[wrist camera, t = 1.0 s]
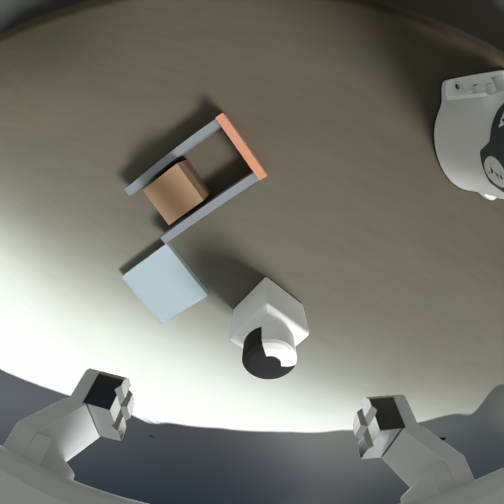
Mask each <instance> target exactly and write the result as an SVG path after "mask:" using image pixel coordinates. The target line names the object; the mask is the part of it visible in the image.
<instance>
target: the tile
mask: <svg viewBox="0 0 504 504" xmlns="http://www.w3.org/2000/svg"><path fill="white" fill-rule="evenodd" d="M122 278H123V279H124V281H125V282H126V283H127V284H128V285H129V287H130V288H131V289H132V290H133V291H134V293H135V294H136V295H137V296H138V297H139V299H140V300H141V301H142V302H143V303H144V304H145V306H146V307H147V308H148V309H149V310H150V311H151V312H152V314H153V315H154V316H155V317H156V318H157V319H158V320H159V321H160V322H161V323H162V322H164V321H166V320H167V319H169V318H171V317H173V316H174V315H176V314H178V313H179V312H181V311H183V310H185V309H186V308H188V307H190V306H191V305H193V304H195V303H196V302H198V301H200V300H201V299H203V298H205V297H207V296H208V294H209V291H208V290H207V289H206V288H205V286H204V285H203V284H202V283H201V281H200V280H199V279H198V278H197V276H196V275H195V274H194V273H193V271H192V270H191V269H190V268H189V266H188V265H187V264H186V263H185V261H184V260H183V259H182V258H181V256H180V255H179V254H178V252H177V251H176V250H175V249H174V247H173V246H172V245H171V243H170V242H167V243H166V244H164V245H162V246H161V247H160V248H158V249H157V250H156V251H154V252H153V253H151V254H150V255H149V256H147V257H146V258H145V259H143V260H142V261H141V262H139V263H138V264H137V265H135V266H134V267H133V268H131V269H130V270H129V271H127V272H126V273H125V274H124V275H123V276H122Z"/></svg>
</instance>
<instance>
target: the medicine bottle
mask: <svg viewBox="0 0 504 504" xmlns="http://www.w3.org/2000/svg"><path fill="white" fill-rule="evenodd" d="M308 335H309V331H308V327H307V322H306V317H305V312H304V308H303V305H302V304H301V303H300V302H299V301H297V300H296V299H295V298H293V297H292V296H291V295H289V294H288V293H287V292H286V291H284V290H283V289H282V288H280V287H279V286H278V285H276V284H275V283H274V282H273V281H271V280H270V279H269V278H267V277H265V278H264V279H263V280H262V281H261V282H260V283H259V284H258V285H257V286H256V287H255V288H254V289H253V290H252V291H251V292H250V293H249V294H248V295H247V296H246V297H245V298H244V299H243V300H242V301H241V302H240V303H239V304H238V305H237V306H236V307H235V308H234V310H233V316H232V322H231V329H230V336H229V339H230V340H231V341H232V342H234V343H235V344H237V345H238V346H240V347H241V348H243V356H242V362H243V365H244V367H245V369H246V370H247V371H248V372H249V373H251V374H252V375H254V376H256V377H259V378H262V379H276V378H279V377H282V376H284V375H286V374H287V373H289V372H290V371H291V370H292V369H293V368H294V366H295V364H296V361H297V355H296V347H295V346H296V345H298V344H299V343H300V342H301V341H302V340H303V339H305V338H306V337H307V336H308Z"/></svg>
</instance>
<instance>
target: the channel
mask: <svg viewBox="0 0 504 504" xmlns="http://www.w3.org/2000/svg"><path fill="white" fill-rule="evenodd" d="M215 118H216V119H214V120H213V121H212V122H210V123H209V124H207V125H206V126H205V127H203V128H202V129H200V130H199V131H198V132H196V133H195V134H193V135H192V136H191V137H189V138H188V139H187V140H185V141H184V142H183V143H181V144H180V145H179V146H177V147H176V148H175V149H173V150H172V151H171V152H170V153H168V154H167V155H166V156H165V157H163V158H162V159H161V160H159V161H158V162H157V163H156V164H154V165H153V166H152V167H151V168H150V169H148V170H147V171H146V172H145V173H144V174H142V175H141V176H140V177H139V178H138V179H136V180H135V181H134V182H133V183H132V184H131V185H129V186H128V187H127V188H126V189H125V191H126V193H127V194H128V195H129V196H130V195H132V194H134V193H136V192H137V191H138V190H140V189H141V188H142V187H143V186H144V185H146V184H147V183H148V182H149V181H151V180H152V179H153V178H154V177H156V176H157V175H158V174H159V173H161V172H162V171H163V170H164V169H166V168H167V167H168V166H170V165H171V164H172V163H173V162H175V161H176V160H177V159H179V158H180V157H181V156H183V155H184V154H185V153H187V152H188V151H189V150H191V149H192V148H193V147H195V146H196V145H197V144H199V143H200V142H202V141H203V140H204V139H206V138H207V137H209V136H210V135H211V134H213V133H214V132H216V131H217V130H219V129H220V128H223V129H224V131H225V132H226V134H227V135H228V136H229V138H230V139H231V141H232V142H233V144H234V145H235V146H236V148H237V149H238V151H239V152H240V153H241V155H242V156H243V158H244V159H245V161H246V162H247V163H248V165H249V166H250V168H251V169H252V172H250V173H249V174H247V175H246V176H244V177H243V178H241V179H240V180H238V181H237V182H235V183H234V184H232V185H231V186H229V187H228V188H227V189H225V190H224V191H222V192H221V193H219V194H218V195H216V196H215V197H213V198H212V199H211V200H209V201H208V202H206V203H205V204H203V205H202V206H200V207H199V208H198V209H196V210H195V211H193V212H192V213H191V214H189V215H188V216H186V217H185V218H184V219H182V220H181V221H179V222H178V223H177V224H175V225H174V226H173V227H171V228H170V229H168V230H167V231H166V232H165V233H164V234H163V235H162V236H161V237H160V238H161V240H162V241H163V242H164V244H166V243H167V242H169V241H170V240H171V239H173V238H174V237H176V236H177V235H178V234H180V233H181V232H183V231H184V230H185V229H187V228H188V227H190V226H191V225H193V224H194V223H195V222H197V221H198V220H200V219H201V218H203V217H204V216H205V215H207V214H208V213H210V212H211V211H213V210H214V209H216V208H217V207H219V206H220V205H222V204H223V203H225V202H226V201H228V200H229V199H230V198H232V197H233V196H235V195H236V194H238V193H239V192H241V191H242V190H244V189H246V188H247V187H249V186H250V185H252V184H253V183H255V182H256V181H258V180H259V181H260V180H261V179H263V178H264V177H266V176H267V172H266V170H265V169H264V167H263V166H262V165H261V163H260V162H259V160H258V159H257V157H256V156H255V154H254V153H253V151H252V150H251V149H250V147H249V146H248V144H247V143H246V141H245V140H244V139H243V137H242V136H241V134H240V133H239V131H238V130H237V129H236V127H235V126H234V124H233V123H232V122H231V120H230V119H229V118H228V116H227V115H226V114H225V113H221V114H220V115H218V116H217V117H215Z"/></svg>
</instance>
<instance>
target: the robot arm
mask: <svg viewBox="0 0 504 504" xmlns="http://www.w3.org/2000/svg"><path fill="white" fill-rule="evenodd" d="M455 85H456V86H457V89H456V88H455ZM441 94H442V103H441V107H440V109H439V112H438V115H437V118H436V122H435V129H434V141H435V149H436V153H437V157H438V160H439V163H440V165H441V167H442V169H443V171H444V172H445V174H446V175H447V177H448V178H449V179H450V180H451V181H452V182H453V183H454V184H455V185H457V186H458V187H460V188H462V189H464V190H468V191H475V192H478V193H480V194H481V195H482V196H483V197H485V198H486V199H489V200H494V199H495V198H496V197H498V198H501V199H504V70H499V71H492V72H486V73H480V74H474V75H469V76H463V77H458V78H453V79H448V80H445V81H444V82H443V83H442V88H441ZM129 388H130V382H129V379H128V378H125V377H121V376H117V375H113V374H109V373H105V372H101V371H98V370H94V369H90V368H89V369H88V370H86V372H85V373H84V375H83V376H82V378H81V380H80V381H79V383H78V385H77V386H76V388H75V390H74V391H73V393H72V395H71V396H70V398H64V399H62V400H60V401H58V402H56V403H55V404H53V405H51V406H49V407H47V408H45V409H42V410H40V411H39V412H37V413H34V414H32V415H30V416H29V417H27V418H24V419H22V420H20V421H18V422H17V424H16V425H15V427H14V428H13V430H12V432H11V433H10V435H9V436H8V438H7V440H6V441H5V443H4V445H3V446H1V445H0V504H148V503H143V502H139V501H135V500H132V499H128V498H124V497H121V496H117V495H114V494H111V493H108V492H104V491H101V490H98V489H95V488H92V487H89V486H87V485H84V484H81V483H78V482H76V481H73V478H74V476H75V475H74V473H73V471H72V470H71V468H70V467H69V466H68V464H67V463H66V462H67V461H68V460H70V459H71V458H72V457H74V456H75V455H76V454H78V453H79V452H80V451H82V450H83V449H84V448H85V447H87V446H88V445H90V444H91V443H92V442H93V441H95V440H96V439H97V438H99V437H100V436H104V437H107V438H111V439H115V440H119V441H122V438H123V435H124V433H125V430H126V424H125V421H126V420H128V419H129V418H130V417H131V414H132V411H133V405H134V402H133V394H132V393H131V392H130V391H129ZM361 406H362V409H361V410H359V411H358V412H357V413H356V415H355V417H354V423H353V428H354V433H355V436H356V437H357V438H358V439H360V441H359V443H358V450H359V453H360V457H361V459H368V458H378V457H382V459H383V460H384V461H385V462H386V463H387V464H388V465H389V466H390V467H391V468H392V469H393V470H394V472H396V473H397V474H398V476H399V477H401V479H402V480H403V481H404V482H405V483H406V484H407V485H408V486H409V487H410V489H409V490H408V491H407V492H406V493H404V494H403V495H402V497H401V504H504V467H503V468H501V469H499V470H497V471H495V472H492V473H490V474H488V475H486V476H483V477H481V478H479V479H476V480H474V478H473V475H472V473H471V471H470V469H469V466H468V464H467V462H466V459H465V457H464V456H463V455H462V454H461V453H459V452H458V451H457V450H455V449H454V448H452V447H451V446H449V445H448V444H446V443H445V442H444V441H442V440H441V439H440V438H438V437H437V436H435V435H434V434H432V433H431V432H430V431H428V430H427V429H426V428H424V427H423V426H418V424H417V422H416V419H415V417H414V415H413V413H412V410H411V408H410V406H409V404H408V402H407V400H406V397H405V396H404V395H392V396H377V397H366V398H364V399H363V401H362V403H361Z"/></svg>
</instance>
